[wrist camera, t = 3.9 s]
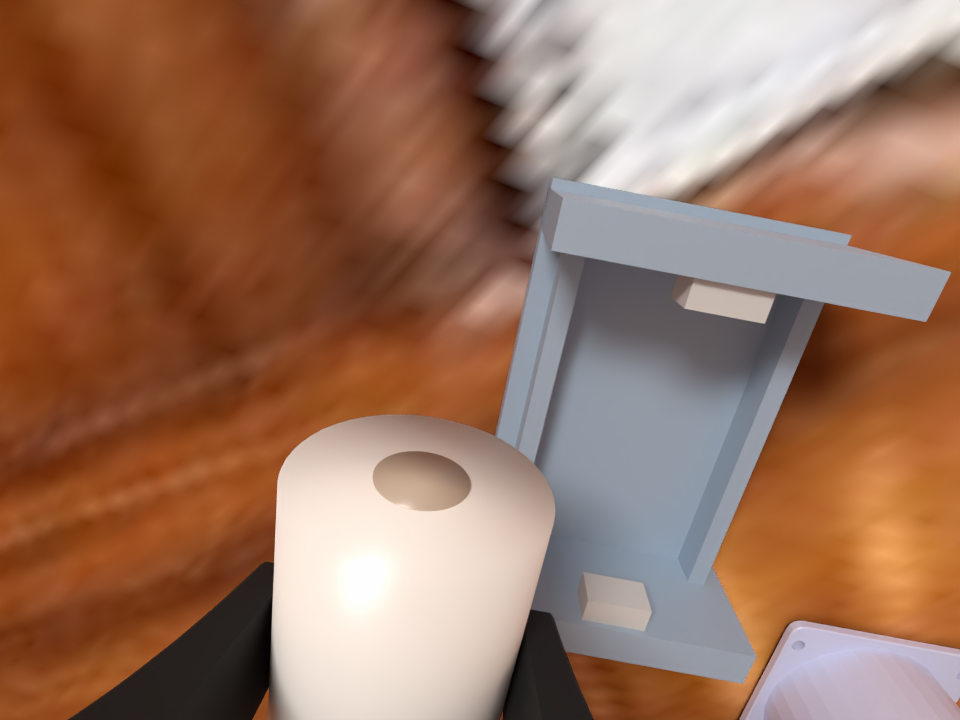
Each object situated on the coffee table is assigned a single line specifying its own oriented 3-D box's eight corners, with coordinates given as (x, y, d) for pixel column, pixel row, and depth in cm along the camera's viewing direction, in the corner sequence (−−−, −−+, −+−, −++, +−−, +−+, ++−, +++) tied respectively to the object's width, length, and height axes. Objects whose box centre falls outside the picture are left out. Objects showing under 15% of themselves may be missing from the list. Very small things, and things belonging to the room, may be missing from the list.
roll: (470, 667, 15) (493, 892, 11) (290, 665, 15) (234, 907, 10) (526, 424, 12) (592, 588, 8) (307, 402, 12) (237, 572, 7)
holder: (690, 575, 22) (739, 690, 17) (473, 535, 22) (463, 640, 17) (832, 230, 17) (957, 259, 12) (550, 177, 17) (566, 183, 12)
